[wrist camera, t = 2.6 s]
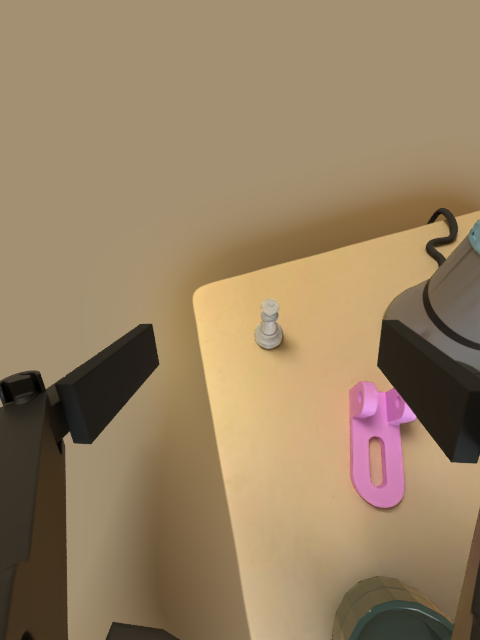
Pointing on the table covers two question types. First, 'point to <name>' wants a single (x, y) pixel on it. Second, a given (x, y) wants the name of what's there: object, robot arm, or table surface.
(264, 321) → the chess piece
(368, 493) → the bracket
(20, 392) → the robot arm
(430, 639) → the bowl
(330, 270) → the table surface
